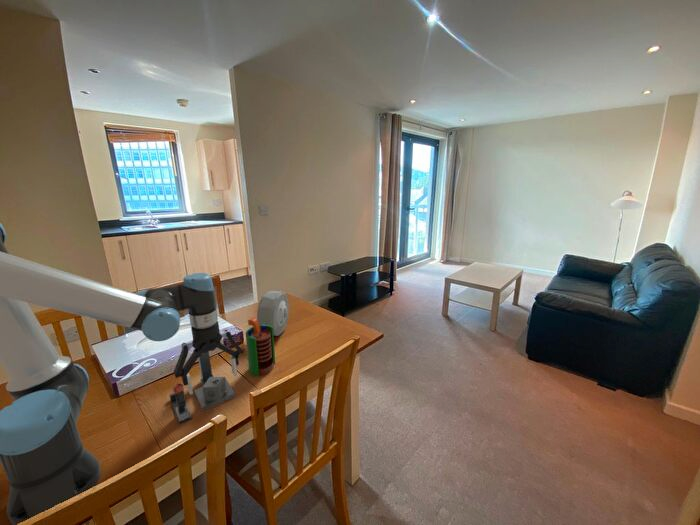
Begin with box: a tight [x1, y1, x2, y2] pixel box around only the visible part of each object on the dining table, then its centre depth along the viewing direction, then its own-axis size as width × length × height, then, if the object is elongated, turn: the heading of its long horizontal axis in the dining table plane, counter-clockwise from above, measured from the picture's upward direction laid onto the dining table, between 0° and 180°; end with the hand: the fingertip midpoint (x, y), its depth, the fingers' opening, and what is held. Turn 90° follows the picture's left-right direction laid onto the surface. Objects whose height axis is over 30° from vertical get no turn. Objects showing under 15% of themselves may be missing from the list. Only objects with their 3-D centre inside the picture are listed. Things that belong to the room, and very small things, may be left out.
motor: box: [245, 317, 276, 378], centre depth 109 cm, size 10×9×20 cm
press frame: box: [169, 351, 236, 425], centre depth 95 cm, size 17×16×14 cm
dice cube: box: [201, 376, 227, 401], centre depth 95 cm, size 5×5×5 cm
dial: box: [256, 290, 290, 337], centre depth 135 cm, size 20×12×20 cm, turn 171°
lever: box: [172, 383, 192, 422], centre depth 87 cm, size 3×4×11 cm
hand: (213, 382), depth 96 cm, fingers open, 13 cm apart
